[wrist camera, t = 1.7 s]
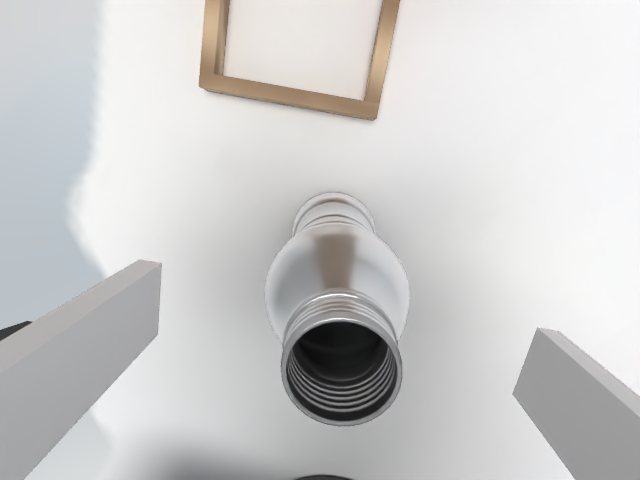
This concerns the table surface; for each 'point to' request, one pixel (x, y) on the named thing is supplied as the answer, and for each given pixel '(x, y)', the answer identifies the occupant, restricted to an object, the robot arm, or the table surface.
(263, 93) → the headboard holder
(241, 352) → the table surface
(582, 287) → the table surface
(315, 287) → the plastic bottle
